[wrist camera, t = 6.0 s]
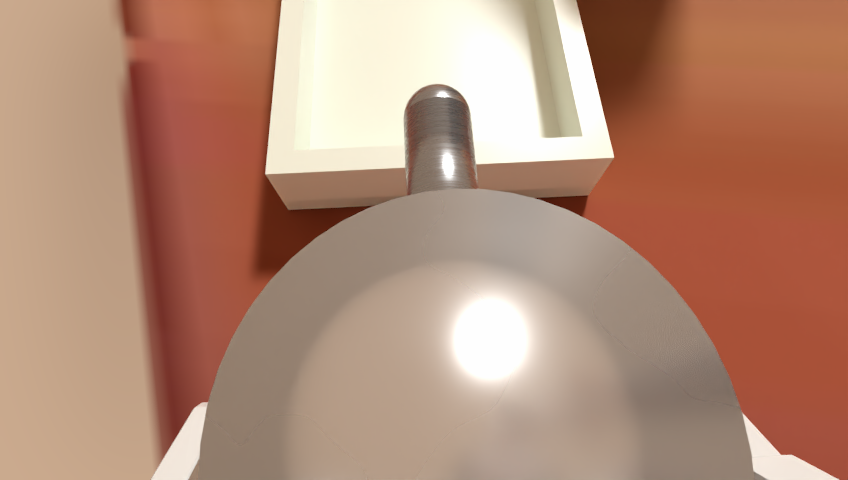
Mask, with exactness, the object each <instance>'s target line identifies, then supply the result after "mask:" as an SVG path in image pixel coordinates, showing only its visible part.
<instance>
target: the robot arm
mask: <svg viewBox="0 0 848 480" xmlns="http://www.w3.org/2000/svg"><path fill="white" fill-rule="evenodd" d="M207 404H208V402H205V403H201V404H199V405H198V406H196V407H195V408H194V409H193V410H192V412H191V414H190V415H189V417H188V419H187V420H186V422H185V424H184V425H183V427H182V429H181V430H180V432H179V433H178V435H177V437H176V438H175V440H174V442H173V443H172V445H171V447H170V448H169V450H168V452H167V453H166V455H165V456H164V458H163V460H162V461H161V463H160V465H159V466H158V468H157V470H156V471H155V473H154V475H153V476H152V478H151V480H198V472H199V456H200V442H201V437H202V431H203V426H204V420H205V415H206V409H207ZM742 414H743V413H742ZM743 419H744V423H745V427H746V432H747V436H748V440H749V445H750V449H751V454H752V463H753V472H754V480H839V479H837V478H835V477H833V476H831V475H829V474H827V473H825V472H823V471H822V470H820V469H818V468H816V467H814V466H812V465H810V464H808V463H806V462H805V461H803V460H801V459H799V458H797V457H795V456H793V455H781V454H780V453H779V452H778V451H777V450H776V449H775V448H774V447H773V446H772V445H771V444H770V442H769V441H768V440H767V439H766V438H765V437H764V436H763V435H762V434H761V433H760V432H759V430H758V429H757V428H756V427H755V426H754V425H753V424H752V423H751V422H750V421H749V420H748V419H747V417H746V416H745V415H744V414H743Z"/></svg>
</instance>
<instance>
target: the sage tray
mask: <svg viewBox="0 0 848 480" xmlns="http://www.w3.org/2000/svg"><path fill="white" fill-rule="evenodd" d="M431 84H445V85H448V86H450V87H452V88H454V89H456V90H457V91H459V92H460V93H461V94H462V95H463V97H464V98H465V99H466V101H467V103H468V106H469V109H470V113H471V121H472V131H473V140H474V149H475V159H476V168H477V177H478V186H479V189H486V190H494V191H502V192H510V193H514V194H519V195H523V196H527V197H531V198H545V197H565V196H586V195H589V194H590V192H591V191H592V189H593V188H594V186H595V185H596V184H597V182H598V181H599V179H600V178H601V176H602V175H603V173H604V172H605V170H606V169H607V167H608V166H609V165H610V163H611V162H612V160H613V159H614V155H613V150H612V146H611V142H610V138H609V134H608V130H607V126H606V121H605V117H604V113H603V109H602V105H601V101H600V97H599V92H598V88H597V84H596V80H595V76H594V72H593V68H592V63H591V59H590V55H589V51H588V47H587V43H586V39H585V35H584V30H583V26H582V22H581V18H580V14H579V10H578V6H577V1H576V0H282V3H281V13H280V24H279V34H278V45H277V55H276V66H275V77H274V87H273V98H272V108H271V119H270V130H269V140H268V151H267V161H266V172H265V175H266V176H267V178H268V179H269V181H270V182H271V184H272V186H273V187H274V189H275V190H276V192H277V193H278V195H279V196H280V198H281V199H282V201H283V203H284V204H285V206H286V207H287V209H288V210H297V209H318V208H339V207H359V206H375V205H378V204H381V203H384V202H387V201H390V200H392V199H395V198H399V197H404V196H406V171H405V146H404V110H405V107H406V105H407V102H408V101H409V99H410V98H411V96H412V95H413V94H414V93H415V92H416V91H418V90H419V89H420V88H422V87H424V86H427V85H431Z"/></svg>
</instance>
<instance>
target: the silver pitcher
mask: <svg viewBox="0 0 848 480" xmlns="http://www.w3.org/2000/svg"><path fill="white" fill-rule="evenodd" d="M404 146H405V171H406V196H404V197H399V198H395V199H392V200H390V201H387V202H384V203H381V204H378V205H375V206H373V207H370V208H367V209H365V210H363V211H361V212H359V213H357V214H355V215H353V216H351V217H349V218H347V219H345V220H343V221H341V222H340V223H338V224H336V225H335V226H333V227H332V228H330V229H329V230H327V231H326V232H324V233H323V234H321V235H319V236H318V237H316V238H315V239H314V240H313V241H311V242H310V243H309V244H308V245H307V246H305V247H304V248H303V249H302V250H301V251H299V252H298V253H297V254H296V255H295V256H293V257H292V258H291V259H290V260H289V261H288V262H287V263H286V264H285V265H284V267H283V268H282V269H281V270H280V271H279V272H278V273H277V274H276V275H275V276H274V277H273V278H272V279H271V280H270V281H269V283H268V284H267V285H266V287H265V288H264V289H263V291H262V292H261V293H260V295H259V296H258V297H257V299H256V300H255V301H254V303H253V304H252V305H251V306H250V308H249V310H248V311H247V313H246V315H245V317H244V318H243V320H242V322H241V323H240V325H239V327H238V328H237V330H236V332H235V334H234V335H233V337H232V339H231V342H230V344H229V346H228V348H227V351H226V353H225V355H224V358H223V360H222V362H221V364H220V367H219V369H218V372H217V375H216V378H215V382H214V385H213V388H212V391H211V395H210V398H209V401H208V404H207V409H206V415H205V420H204V426H203V431H202V437H201V442H200V456H199V472H198V480H754V472H753V463H752V454H751V449H750V445H749V440H748V436H747V432H746V427H745V423H744V419H743V414H742V411H741V408H740V406H739V403H738V400H737V397H736V394H735V392H734V389H733V386H732V383H731V380H730V377H729V375H728V373H727V371H726V369H725V367H724V365H723V363H722V361H721V359H720V357H719V355H718V353H717V351H716V349H715V347H714V345H713V343H712V341H711V340H710V338H709V336H708V335H707V333H706V332H705V330H704V329H703V327H702V325H701V324H700V322H699V321H698V319H697V317H696V316H695V314H694V313H693V312H692V310H691V309H690V308H689V306H688V305H687V304H686V303H685V301H684V300H683V299H682V298H681V296H680V295H679V294H678V293H677V291H676V290H675V289H674V288H673V286H672V285H671V284H670V283H669V282H668V281H667V280H666V279H665V278H664V277H663V276H662V275H661V274H660V273H659V272H658V271H657V270H656V269H655V268H654V267H653V266H652V265H651V264H650V263H649V262H648V261H647V260H646V259H644V258H643V257H642V256H641V255H639V254H638V253H637V252H636V251H634V250H633V249H632V248H631V247H630V246H628V245H627V244H626V243H625V242H623V241H622V240H620V239H619V238H617V237H616V236H614V235H613V234H611V233H609V232H608V231H606V230H605V229H603V228H602V227H600V226H599V225H597V224H595V223H593V222H591V221H589V220H587V219H585V218H583V217H581V216H579V215H577V214H575V213H573V212H571V211H569V210H567V209H564V208H561V207H559V206H556V205H553V204H550V203H548V202H545V201H542V200H539V199H535V198H531V197H527V196H523V195H519V194H514V193H510V192H502V191H494V190H486V189H479V186H478V177H477V168H476V159H475V149H474V140H473V131H472V121H471V113H470V109H469V106H468V103H467V101H466V99H465V98H464V97H463V95H462V94H461V93H460V92H459V91H457V90H456V89H454V88H452V87H450V86H448V85H445V84H431V85H427V86H424V87H422V88H420V89H419V90H418V91H416V92H415V93H414V94H413V95H412V96H411V98H410V99H409V101H408V102H407V105H406V107H405V110H404Z"/></svg>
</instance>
